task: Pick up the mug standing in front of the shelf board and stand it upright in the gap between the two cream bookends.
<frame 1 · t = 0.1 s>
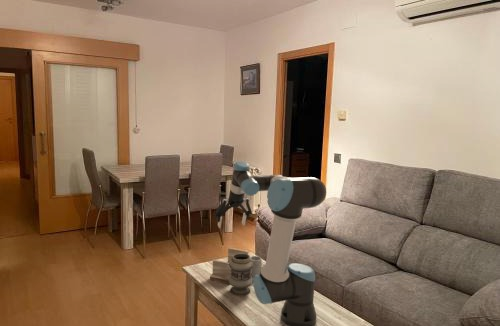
hand: (231, 225, 188), 28 cm above the table, tool tilted 20°, fingers open, 13 cm apart
apothecary jar: (240, 291, 175), on the table
shelf: (230, 272, 195), on the table
mug: (252, 277, 191), on the table
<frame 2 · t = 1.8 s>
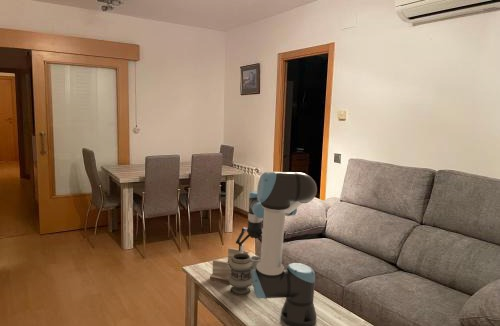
hand: (253, 259, 190), 10 cm above the table, tool pointing down, fingers open, 13 cm apart
nothing on the table moved.
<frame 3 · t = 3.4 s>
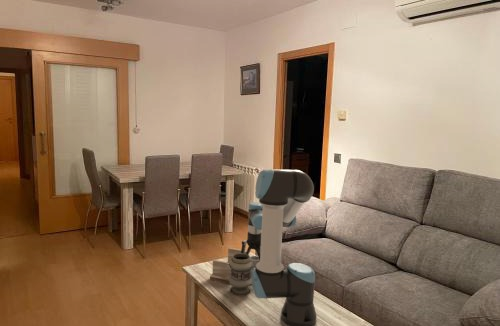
hand: (253, 273, 190), 2 cm above the table, tool pointing down, fingers closed on mug, 7 cm apart
mug: (252, 277, 191), on the table, touching gripper
everything else where it was.
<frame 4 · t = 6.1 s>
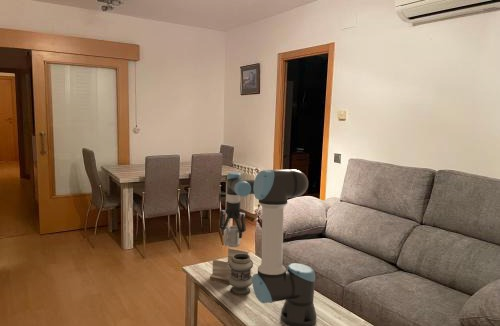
hand: (231, 242, 193), 17 cm above the table, tool pointing down, fingers closed on mug, 7 cm apart
mug: (230, 246, 193), point 15 cm above the table, touching gripper
everything else where it was.
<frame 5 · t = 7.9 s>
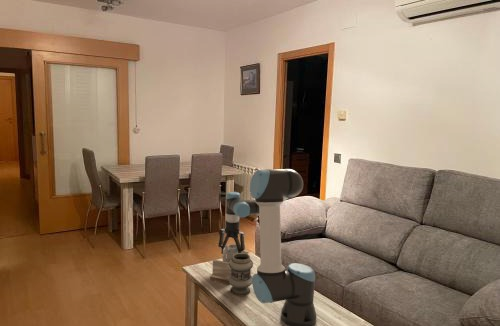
hand: (231, 260, 194), 6 cm above the table, tool pointing down, fingers closed on mug, 7 cm apart
mug: (230, 264, 195), point 4 cm above the table, touching gripper
everything else where it was.
when the fingers open (5 cm above the table, at t = 9.0 s): mug drops 1 cm, resting on shelf.
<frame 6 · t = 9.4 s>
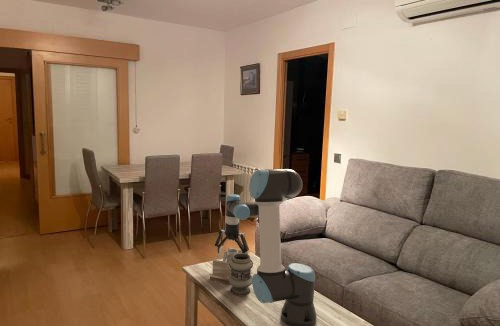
hand: (231, 260, 194), 6 cm above the table, tool pointing down, fingers open, 12 cm apart
mug: (230, 269, 195), point 1 cm above the table, touching shelf
everything else where it was.
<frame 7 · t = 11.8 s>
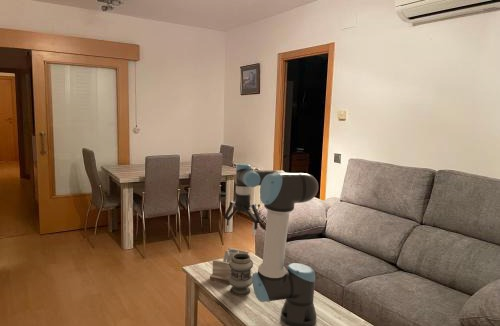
hand: (241, 233, 186), 24 cm above the table, tool pointing down, fingers open, 13 cm apart
nothing on the table moved.
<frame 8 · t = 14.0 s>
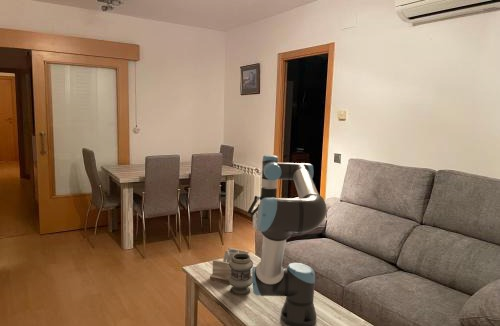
hand: (267, 229, 174), 31 cm above the table, tool pointing down, fingers open, 13 cm apart
nothing on the table moved.
at the end: mug inside the target area on the shelf (0.4 cm from its centre), point 1.3 cm above the shelf's base; mug tilted 0°; the gripper is holding nothing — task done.
